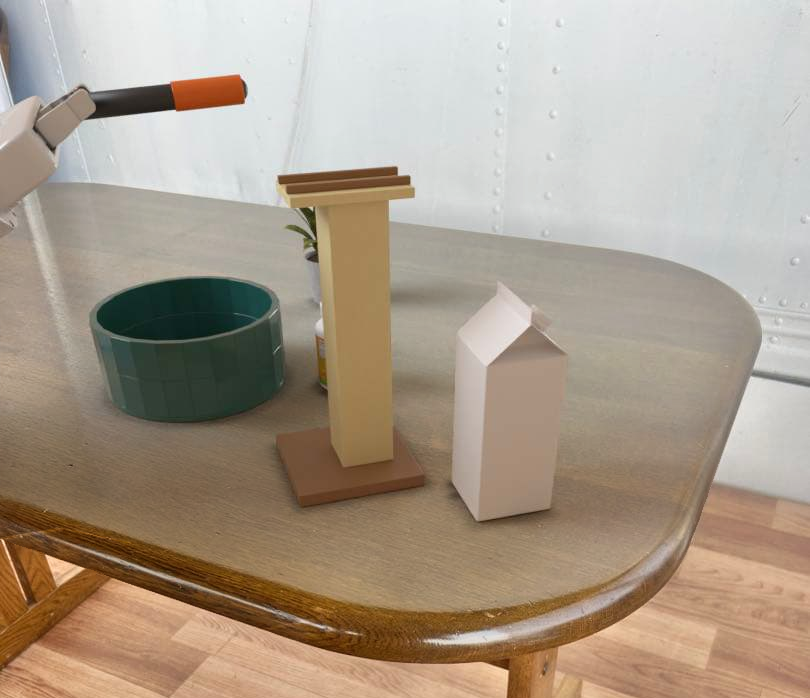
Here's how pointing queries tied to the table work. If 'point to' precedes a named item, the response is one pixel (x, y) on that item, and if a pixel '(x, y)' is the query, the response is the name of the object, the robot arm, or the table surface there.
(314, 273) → the house plant
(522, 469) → the milk carton
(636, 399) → the table surface
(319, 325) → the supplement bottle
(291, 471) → the stand
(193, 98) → the marker
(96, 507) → the table surface
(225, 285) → the pot
